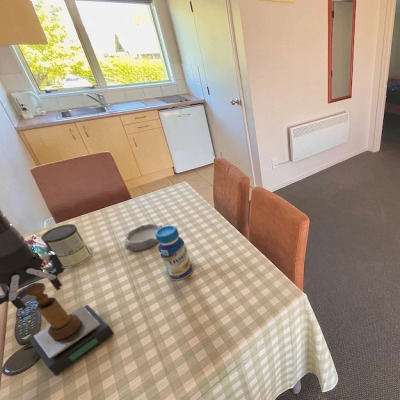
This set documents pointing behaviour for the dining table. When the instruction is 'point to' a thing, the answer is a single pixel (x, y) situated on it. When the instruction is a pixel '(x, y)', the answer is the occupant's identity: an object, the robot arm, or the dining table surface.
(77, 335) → the scale pan
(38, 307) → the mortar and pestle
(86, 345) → the scale
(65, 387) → the dining table surface
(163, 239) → the beverage bottle
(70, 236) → the coffee can
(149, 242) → the dish
